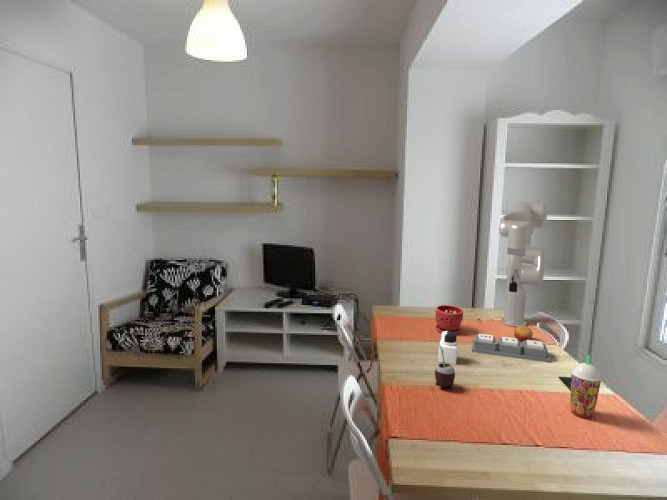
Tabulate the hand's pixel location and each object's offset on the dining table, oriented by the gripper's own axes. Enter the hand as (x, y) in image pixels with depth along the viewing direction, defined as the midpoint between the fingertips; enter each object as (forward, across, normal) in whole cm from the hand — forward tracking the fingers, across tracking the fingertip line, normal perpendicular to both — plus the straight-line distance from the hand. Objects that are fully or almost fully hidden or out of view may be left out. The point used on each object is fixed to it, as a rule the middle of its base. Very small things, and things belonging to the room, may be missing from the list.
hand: (512, 291), depth 187 cm
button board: (+25, +9, 0) cm, 27 cm away
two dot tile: (+23, +9, 0) cm, 25 cm away
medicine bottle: (+24, +27, -25) cm, 45 cm away
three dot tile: (+23, +9, -10) cm, 27 cm away
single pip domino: (+23, +9, +10) cm, 27 cm away
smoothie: (+23, +54, +18) cm, 62 cm away
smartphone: (+25, +35, +21) cm, 48 cm away
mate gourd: (+23, +51, -26) cm, 62 cm away
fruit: (+26, -8, +7) cm, 28 cm away
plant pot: (+26, -7, -27) cm, 38 cm away
